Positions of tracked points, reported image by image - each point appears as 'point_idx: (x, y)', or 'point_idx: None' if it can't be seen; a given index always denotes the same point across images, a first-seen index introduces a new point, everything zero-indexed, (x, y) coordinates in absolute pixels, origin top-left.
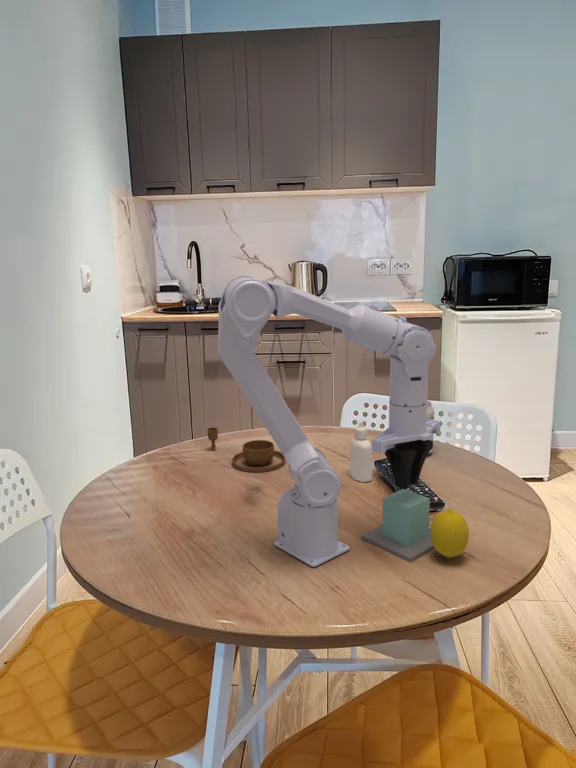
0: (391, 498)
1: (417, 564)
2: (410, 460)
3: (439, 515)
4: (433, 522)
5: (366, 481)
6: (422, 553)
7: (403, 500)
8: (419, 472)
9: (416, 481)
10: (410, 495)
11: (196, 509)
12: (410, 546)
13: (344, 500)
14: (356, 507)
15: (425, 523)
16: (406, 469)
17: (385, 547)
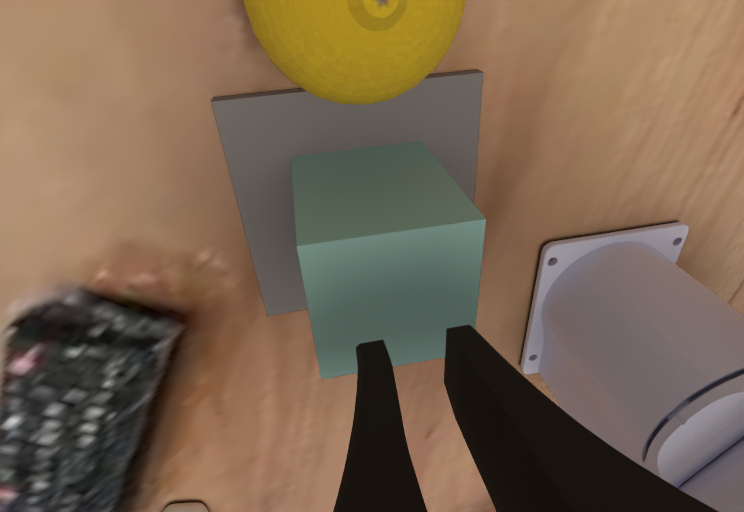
0: None
1: (471, 39)
2: (637, 507)
3: (428, 48)
4: (435, 67)
5: (190, 503)
6: None
7: (430, 293)
8: (375, 403)
9: (379, 354)
10: (354, 317)
11: None
12: (410, 139)
13: (325, 446)
14: (327, 409)
15: (319, 180)
16: (587, 430)
17: (473, 189)
